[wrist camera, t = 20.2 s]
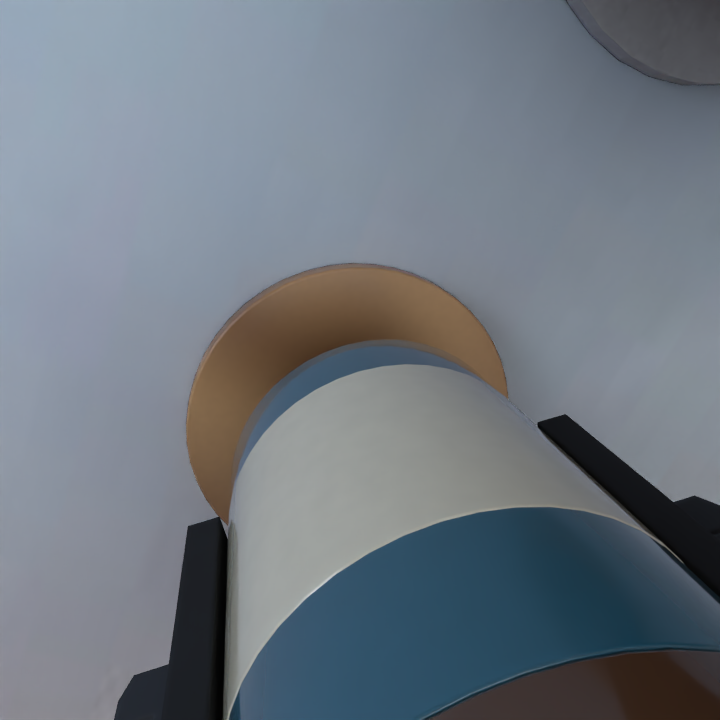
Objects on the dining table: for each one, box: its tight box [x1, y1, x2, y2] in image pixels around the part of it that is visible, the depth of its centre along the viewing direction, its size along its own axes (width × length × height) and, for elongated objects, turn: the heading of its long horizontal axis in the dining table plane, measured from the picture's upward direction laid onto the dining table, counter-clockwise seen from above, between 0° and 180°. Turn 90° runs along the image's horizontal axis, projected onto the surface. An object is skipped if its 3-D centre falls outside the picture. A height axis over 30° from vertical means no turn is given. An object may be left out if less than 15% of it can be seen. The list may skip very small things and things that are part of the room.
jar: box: [223, 339, 720, 720], centre depth 11 cm, size 14×8×14 cm
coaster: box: [186, 263, 508, 525], centre depth 20 cm, size 11×11×1 cm
